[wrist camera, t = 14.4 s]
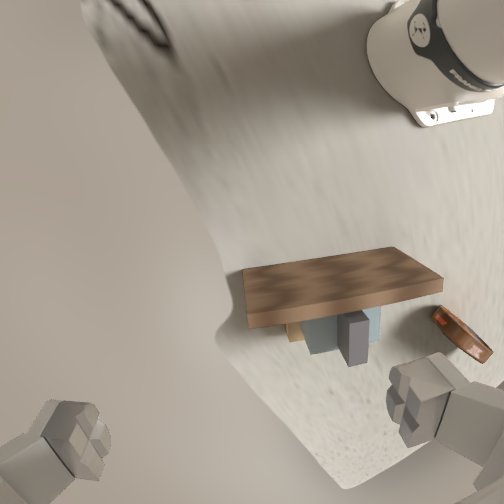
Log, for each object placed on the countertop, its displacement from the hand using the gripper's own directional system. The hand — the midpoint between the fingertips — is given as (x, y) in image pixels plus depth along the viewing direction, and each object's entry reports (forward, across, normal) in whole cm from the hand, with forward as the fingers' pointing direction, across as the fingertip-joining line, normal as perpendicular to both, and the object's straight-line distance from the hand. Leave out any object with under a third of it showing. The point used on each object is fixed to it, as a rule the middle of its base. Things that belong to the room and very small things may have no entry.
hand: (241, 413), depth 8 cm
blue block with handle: (+28, -10, +12) cm, 32 cm away
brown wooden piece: (+31, -10, +12) cm, 35 cm away
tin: (+31, -32, +22) cm, 50 cm away
